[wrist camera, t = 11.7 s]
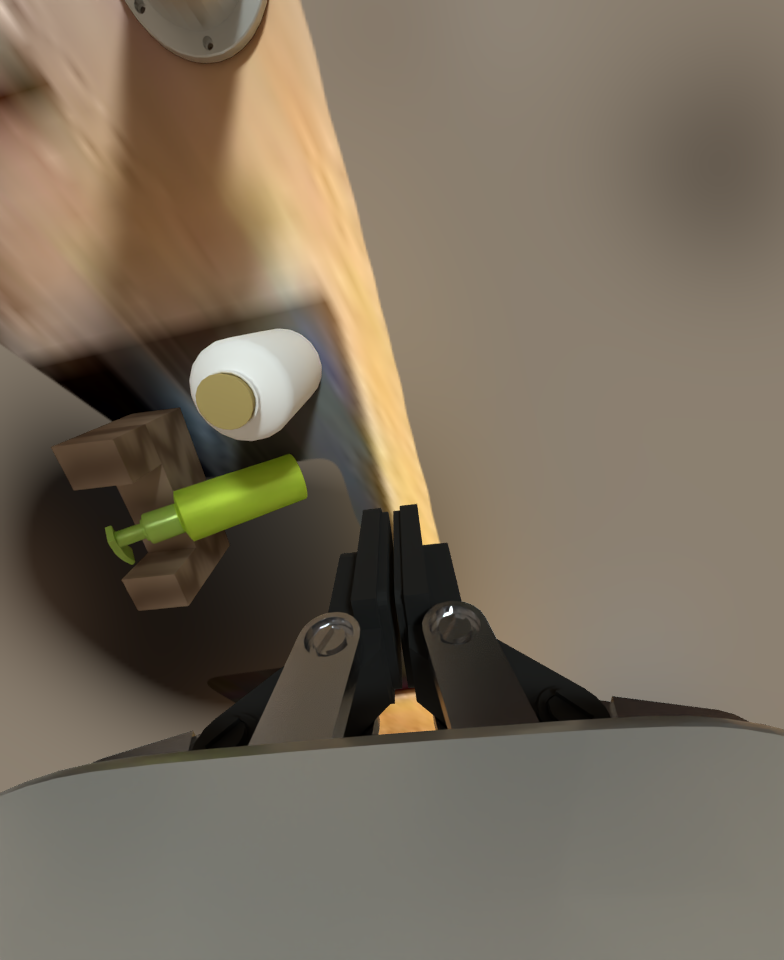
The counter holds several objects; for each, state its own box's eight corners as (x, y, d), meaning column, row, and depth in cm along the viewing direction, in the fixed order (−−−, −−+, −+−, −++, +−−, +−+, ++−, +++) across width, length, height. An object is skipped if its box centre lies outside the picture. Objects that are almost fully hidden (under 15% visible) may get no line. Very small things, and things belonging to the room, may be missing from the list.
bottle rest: (132, 413, 46) (50, 447, 35) (179, 407, 45) (112, 439, 34) (189, 549, 54) (138, 610, 43) (229, 545, 54) (188, 605, 43)
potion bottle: (317, 325, 41) (269, 337, 25) (327, 400, 45) (291, 453, 29) (243, 330, 42) (148, 345, 25) (259, 404, 45) (184, 459, 29)
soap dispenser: (290, 479, 51) (120, 538, 42) (286, 444, 45) (91, 504, 37) (308, 511, 48) (131, 582, 40) (306, 478, 43) (101, 552, 34)
